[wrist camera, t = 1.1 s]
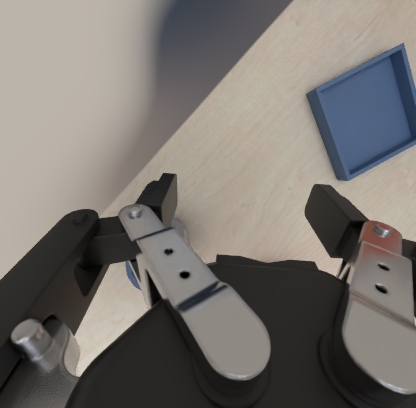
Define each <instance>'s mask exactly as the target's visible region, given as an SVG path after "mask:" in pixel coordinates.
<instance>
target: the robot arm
mask: <svg viewBox="0 0 416 408" xmlns="http://www.w3.org/2000/svg"><path fill="white" fill-rule="evenodd" d="M176 207H177V175H176V174H170V173H163V174H162V176H161V178H160V179H159V181H152V182H151V183H149V184H147V186H146V187H145V190H143V192H142V194H141V195H140V197H139V198H138V200H137V201H136V203H135V204H133V205H129V206H126V207H124V208H122V209H121V210H120V211H119V213H118V216H115V217H108V218H99V216H98V213H97V212H96V211H94V210H91V209H82V210H77V211H73V212H71V213H69V214H67V215H65V216H64V217H63V218H62V219H61V220H60V221H59V222H58V223H57V224H56V225H55V226H54V227H53V228H52V229H51V230H50V231H49V232H48V233H47V234H46V235H45V236H44V237H43V238H42V239H41V240H40V241H39V242H38V243H37V244H36V245H35V246H34V247H33V248H32V249H31V250H30V251H29V252H28V253H27V254H26V255H25V256H24V257H23V258H22V259H21V260H20V261H19V262H18V263H17V264H16V265H15V266H14V267H13V268H12V269H11V270H10V271H9V272H8V273H7V274H6V275H5V276H4V277H3V278H2V279H1V280H0V408H416V326H415V322H414V316H415V318H416V242H414V241H410V240H406V239H402V235H401V234H400V233H399V232H398V231H397V230H396V229H394V228H393V227H391V226H389V225H387V224H384V223H381V222H378V221H370V220H369V219H367V218H366V217H365V216H364V215H363V214H362V213H361V212H360V211H359V210H358V209H357V208H356V207H355V206H354V205H352V203H351V202H350V201H349V200H348V199H346V198H345V197H343V196H341V195H340V194H339V193H338V192H337V191H336V190H335V189H334V188H333V187H332V186H331V185H323V184H315V185H314V186H313V188H312V190H311V193H310V196H309V198H308V201H307V204H306V207H305V217H306V218H307V220H308V222H309V223H310V225H311V227H312V228H313V230H314V231H315V233H316V235H317V236H318V238H319V240H320V241H321V243H322V244H323V246H324V248H325V249H326V251H327V252H328V254H329V256H330V257H331V258H342V259H343V260H342V262H341V264H340V266H339V269H338V272H337V274H336V277H335V276H334V275H331V274H329V273H327V272H324V271H321V270H318V268H317V266H316V264H315V262H312V261H299V260H286V261H279V262H272V263H264V262H260V261H257V260H253V259H249V258H245V257H242V256H230V255H217V257H216V262H212V263H208V264H205V263H204V262H203V261H202V260H201V258H200V257H199V256H198V255H197V254H196V252H195V251H194V250H193V249H192V248H191V247H190V245H189V244H188V243H187V242H186V241H185V239H184V238H183V237H182V236H181V235H180V233H179V232H178V231H177V230H176V229H175V228H174V227H173V226H171V222H172V219H173V216H174V213H175V210H176ZM124 261H128V262H129V264H130V266H131V269H132V271H133V273H134V275H135V277H136V279H137V282H138V284H139V286H140V288H141V290H142V293H143V296H144V300H145V303H146V305H147V308H148V311H147V312H146V313H145V314H144V315H143V316H141V317H140V318H139V319H138V320H137V321H136V322H135V323H134V324H133V325H131V326H130V327H129V328H128V329H127V330H126V331H125V332H124V333H123V334H121V335H120V336H119V337H118V338H117V339H116V340H115V341H114V342H113V343H111V344H110V345H109V346H108V347H107V348H106V349H105V350H104V351H103V352H101V353H100V354H99V355H98V356H97V357H96V358H95V359H94V360H93V361H92V362H91V363H90V365H89V366H88V367H87V368H86V370H85V371H84V372H83V374H82V375H81V377H77V376H76V367H77V364H78V361H79V357H80V347H79V345H78V343H77V341H76V339H75V338H74V336H75V334H76V332H77V330H78V328H79V326H80V324H81V322H82V320H83V318H84V316H85V314H86V312H87V310H88V308H89V305H90V303H91V301H92V299H93V297H94V295H95V293H96V291H97V289H98V287H99V285H100V283H101V281H102V279H103V277H104V275H105V273H106V271H107V269H108V267H109V265H110V264H113V263H118V262H124Z"/></svg>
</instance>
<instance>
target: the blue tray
mask: <svg viewBox="0 0 416 408" xmlns="http://www.w3.org/2000/svg"><path fill="white" fill-rule="evenodd" d="M404 47H405V46H404V43H402V44H400V45H398V46H396V47H394V48H392V49H391V50H389V51H387V52H385V53H383V54H381V55H379V56H377V57H375V58H373V59H371V60H369V61H368V62H366V63H364V64H362V65H360V66H358V67H356V68H354V69H352V70H350V71H348V72H346V73H345V74H343V75H341V76H339V77H337V78H335V79H333V80H331V81H329V82H327V83H325V84H323V85H322V86H320V87H318V88H316V89H314V90H312V91H311V92H309V93H308V94H306V95H307V97H308V100H309V103H310V106H311V108H312V111H313V114H314V117H315V119H316V122H317V125H318V127H319V130H320V133H321V136H322V138H323V141H324V144H325V147H326V149H327V152H328V155H329V157H330V160H331V163H332V166H333V168H334V171H335V174H336V177H337V179H338V180H344V181H349V180H351V179H352V178H354V177H356V176H358V175H360V174H362V173H364V172H365V171H367V170H369V169H371V168H373V167H375V166H376V165H378V164H380V163H382V162H384V161H386V160H388V159H389V158H391V157H393V156H395V155H397V154H399V153H401V152H402V151H404V150H406V149H408V148H410V147H412V146H414V145H415V144H416V89H415V85H414V81H413V77H412V73H411V69H410V65H409V62H408V58H407V54H406V50H405V48H404Z"/></svg>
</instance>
